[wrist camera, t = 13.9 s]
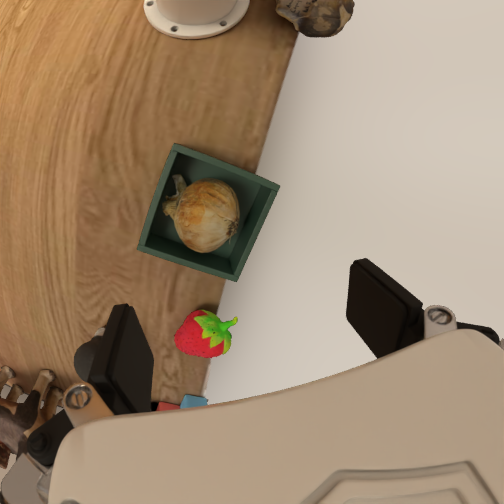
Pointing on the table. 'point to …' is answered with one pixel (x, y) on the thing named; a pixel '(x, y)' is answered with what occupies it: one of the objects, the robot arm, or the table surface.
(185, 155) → the bin
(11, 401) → the figurine
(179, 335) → the strawberry
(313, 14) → the stone tool
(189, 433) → the robot arm
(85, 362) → the light bulb
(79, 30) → the table surface
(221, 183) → the onion
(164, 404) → the building blocks
